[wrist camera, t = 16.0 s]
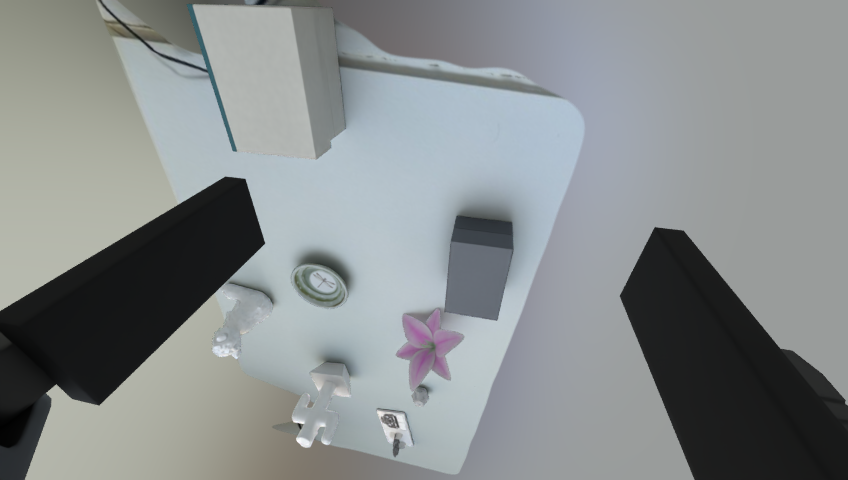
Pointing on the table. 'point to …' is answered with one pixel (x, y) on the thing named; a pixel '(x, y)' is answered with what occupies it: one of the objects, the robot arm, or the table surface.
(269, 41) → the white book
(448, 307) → the grey box
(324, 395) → the figurine
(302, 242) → the table surface
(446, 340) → the lily
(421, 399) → the game die
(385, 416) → the car cutout
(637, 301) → the robot arm
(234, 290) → the sitting furry creature
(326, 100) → the white rectangular block
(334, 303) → the saucer
